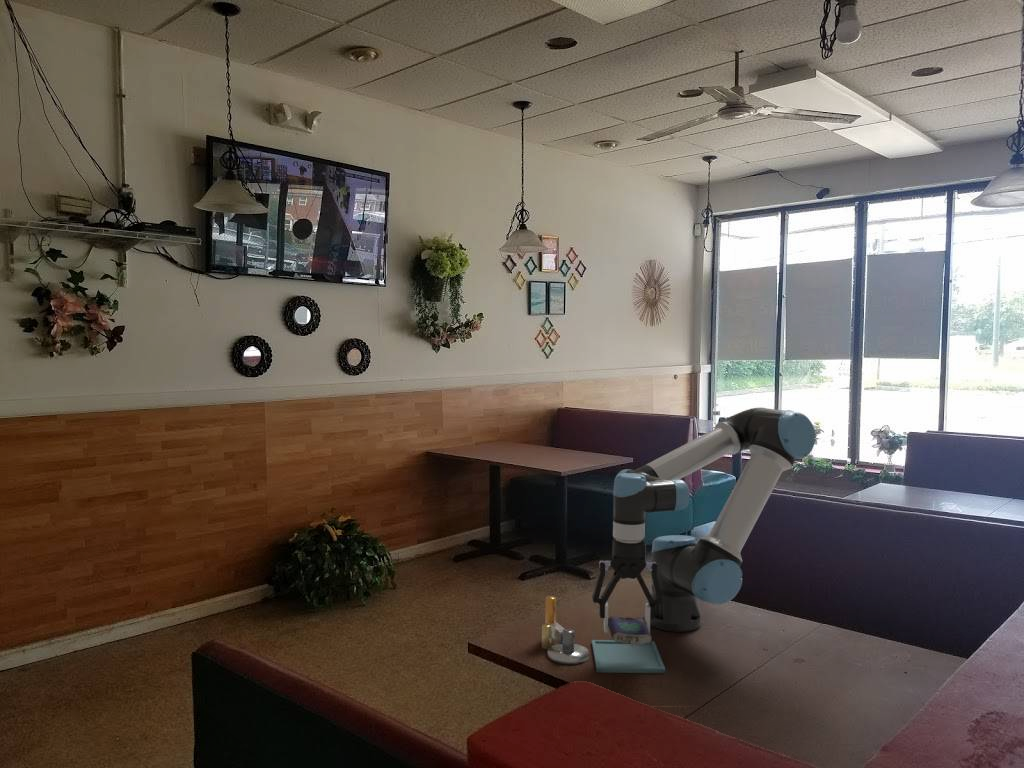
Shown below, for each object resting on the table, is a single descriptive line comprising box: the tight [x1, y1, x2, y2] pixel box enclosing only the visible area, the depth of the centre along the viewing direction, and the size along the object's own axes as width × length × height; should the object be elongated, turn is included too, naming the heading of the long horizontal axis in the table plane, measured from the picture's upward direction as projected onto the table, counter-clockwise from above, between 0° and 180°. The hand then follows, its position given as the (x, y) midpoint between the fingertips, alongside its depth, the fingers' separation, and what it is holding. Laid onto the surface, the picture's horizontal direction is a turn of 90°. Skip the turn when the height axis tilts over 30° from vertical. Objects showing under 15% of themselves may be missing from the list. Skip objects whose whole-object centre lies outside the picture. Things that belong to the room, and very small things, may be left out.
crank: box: [544, 595, 565, 645], centre depth 185 cm, size 9×3×9 cm, turn 23°
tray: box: [591, 639, 666, 674], centre depth 178 cm, size 16×16×1 cm
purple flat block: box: [608, 616, 652, 647], centre depth 173 cm, size 9×3×11 cm
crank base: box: [541, 623, 590, 665], centre depth 179 cm, size 11×11×6 cm
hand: (626, 631), depth 177 cm, fingers closed on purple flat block, 9 cm apart
